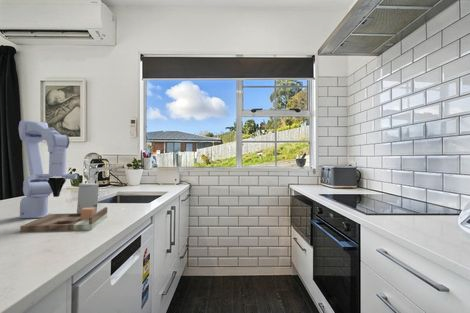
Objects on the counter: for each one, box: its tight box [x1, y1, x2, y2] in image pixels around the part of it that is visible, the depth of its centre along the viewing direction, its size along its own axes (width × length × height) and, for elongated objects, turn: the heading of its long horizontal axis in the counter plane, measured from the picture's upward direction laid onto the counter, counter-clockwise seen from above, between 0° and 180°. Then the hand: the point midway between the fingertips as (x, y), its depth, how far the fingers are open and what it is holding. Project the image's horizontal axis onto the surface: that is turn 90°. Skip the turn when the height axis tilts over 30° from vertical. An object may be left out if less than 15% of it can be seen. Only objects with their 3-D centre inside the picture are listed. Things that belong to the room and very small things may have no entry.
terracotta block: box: [81, 208, 95, 220], centre depth 107 cm, size 4×4×4 cm
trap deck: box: [19, 206, 108, 233], centre depth 106 cm, size 23×22×4 cm
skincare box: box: [76, 182, 99, 213], centre depth 122 cm, size 8×6×15 cm
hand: (56, 196), depth 109 cm, fingers closed
